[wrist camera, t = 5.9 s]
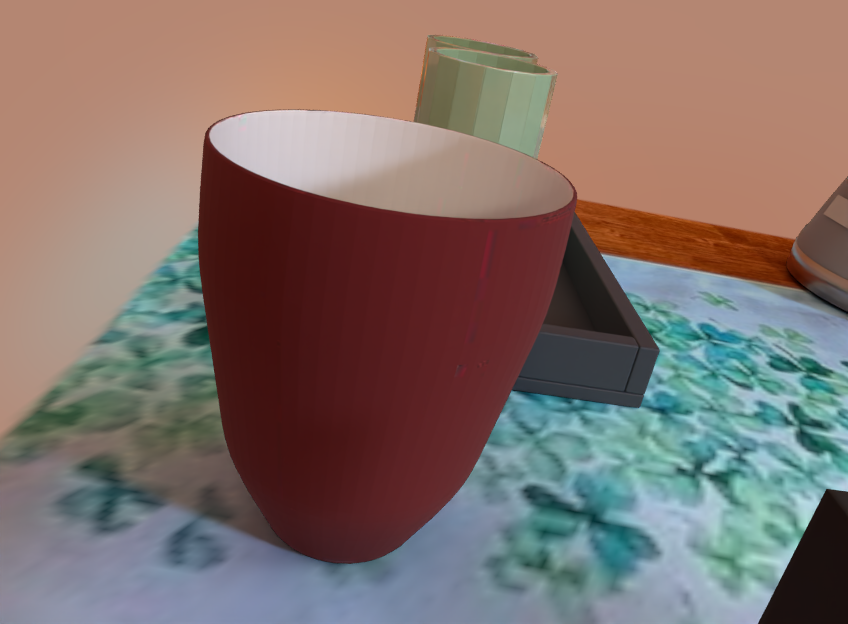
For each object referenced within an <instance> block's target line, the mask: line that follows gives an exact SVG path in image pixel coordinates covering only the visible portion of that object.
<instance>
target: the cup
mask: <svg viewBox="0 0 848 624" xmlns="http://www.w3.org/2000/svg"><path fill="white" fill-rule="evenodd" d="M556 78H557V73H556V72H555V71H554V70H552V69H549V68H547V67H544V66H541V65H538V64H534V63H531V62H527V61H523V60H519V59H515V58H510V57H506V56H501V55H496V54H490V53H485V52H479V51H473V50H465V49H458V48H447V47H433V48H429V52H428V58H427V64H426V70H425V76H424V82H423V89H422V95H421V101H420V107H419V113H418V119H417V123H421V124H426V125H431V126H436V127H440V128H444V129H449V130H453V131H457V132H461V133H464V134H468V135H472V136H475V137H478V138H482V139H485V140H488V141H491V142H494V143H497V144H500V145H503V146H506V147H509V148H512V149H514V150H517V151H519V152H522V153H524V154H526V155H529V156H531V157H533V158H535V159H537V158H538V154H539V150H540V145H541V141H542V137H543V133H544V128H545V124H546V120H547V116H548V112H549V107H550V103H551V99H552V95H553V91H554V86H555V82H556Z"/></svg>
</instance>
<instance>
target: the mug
mask: <svg viewBox="0 0 848 624" xmlns="http://www.w3.org/2000/svg"><path fill="white" fill-rule="evenodd" d="M576 202H577V192H576V190H575V188H574V186H573V185H572V183H571V182H570V181H569V180H568V179H567V178H566V177H565V176H564V175H562V174H561V173H560V172H558V171H557V170H555V169H554V168H552V167H551V166H549V165H547V164H545V163H543V162H541V161H539V160H537V159H535V158H533V157H531V156H529V155H526V154H524V153H522V152H519V151H517V150H514V149H512V148H509V147H506V146H503V145H500V144H497V143H494V142H491V141H488V140H485V139H482V138H478V137H475V136H472V135H468V134H464V133H461V132H457V131H453V130H449V129H444V128H440V127H436V126H431V125H426V124H421V123H416V122H411V121H406V120H400V119H394V118H388V117H381V116H374V115H366V114H358V113H357V114H356V113H348V112H337V111H323V110H266V111H255V112H248V113H242V114H238V115H233V116H230V117H227V118H224V119H221V120H219V121H217V122H216V123H214V124H213V125H212V126H210V128H208V130H207V131H206V133H205V139H204V146H203V160H202V173H201V186H200V204H199V225H198V250H199V266H200V276H201V284H202V291H203V299H204V305H205V312H206V319H207V326H208V332H209V339H210V346H211V352H212V359H213V366H214V373H215V379H216V386H217V393H218V399H219V406H220V413H221V420H222V426H223V431H224V436H225V440H226V443H227V446H228V449H229V453H230V456H231V458H232V460H233V463H234V465H235V467H236V469H237V471H238V473H239V475H240V477H241V479H242V481H243V483H244V484H245V486H246V488H247V490H248V492H249V493H250V495H251V496H252V498H253V499H254V501H255V503H256V504H257V506H258V507H259V509H260V510H261V512H262V514H263V515H264V517H265V518H266V520H267V521H268V523H269V525H270V526H271V528H272V529H273V531H274V532H275V533H276V534H277V535H278V536H279V537H280V538H281V540H283V541H284V542H285V543H286V544H288V545H289V546H290V547H291V548H293V549H295V550H296V551H298V552H300V553H302V554H304V555H306V556H309V557H312V558H314V559H318V560H321V561H326V562H332V563H348V564H351V563H360V562H367V561H370V560H374V559H377V558H380V557H382V556H385V555H387V554H388V553H390V552H392V551H394V550H395V549H397V548H398V547H399V546H401V545H402V544H403V543H404V542H405V541H407V540H408V539H409V538H410V537H411V536H412V535H413V534H415V533H416V532H417V531H418V530H419V529H420V528H421V527H423V526H424V525H425V524H426V523H427V522H428V521H429V520H430V519H432V518H433V517H434V516H435V515H436V514H437V513H438V512H439V511H440V510H441V509H442V508H443V507H444V506H445V505H446V504H447V503H448V502H449V501H450V500H451V499H452V498H453V496H454V495H455V494H456V493H457V492H458V491H459V489H460V488H461V487H462V485H463V484H464V483H465V481H466V480H467V478H468V477H469V475H470V473H471V472H472V470H473V468H474V466H475V464H476V462H477V461H478V459H479V457H480V455H481V453H482V451H483V448H484V446H485V444H486V442H487V440H488V438H489V436H490V434H491V432H492V430H493V428H494V426H495V424H496V421H497V419H498V417H499V415H500V413H501V411H502V409H503V407H504V405H505V403H506V401H507V399H508V396H509V394H510V392H511V390H512V388H513V386H514V384H515V382H516V380H517V378H518V376H519V374H520V371H521V369H522V367H523V365H524V363H525V361H526V359H527V357H528V355H529V353H530V351H531V349H532V346H533V344H534V342H535V340H536V338H537V336H538V333H539V331H540V329H541V327H542V324H543V322H544V319H545V317H546V314H547V312H548V309H549V306H550V303H551V300H552V297H553V294H554V290H555V287H556V284H557V280H558V276H559V272H560V268H561V265H562V261H563V257H564V253H565V250H566V245H567V241H568V237H569V233H570V228H571V224H572V220H573V216H574V211H575V207H576Z"/></svg>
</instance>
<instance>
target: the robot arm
mask: <svg viewBox="0 0 848 624" xmlns="http://www.w3.org/2000/svg"><path fill="white" fill-rule="evenodd" d="M786 266H787V268H788V270H789V272H790V273H791V274H792V276H793V277H794V278H795V279H796V280H797V281H798V282H800V283H801V284H802V285H803V286H805V287H806V288H807V289H809V290H810V291H812V292H813V293H815V294H816V295H818V296H819V297H821V298H823V299H825V300H826V301H828V302H830V303H832V304H833V305H835V306H837V307H839V308H841V309H843V310H845V311H847V312H848V177H847V178H846V179H845V180H844V181H843V183H842V184H841V185H840V186H839V187H838V188H837V190H836V191H835V192H834V193H833V194H832V195H831V197H830V198H829V199H828V200H827V201H826V203H825V204H824V205H823V206H822V207H821V209H820V210H819V211H818V212H817V213H816V215H815V216H814V217H813V219H812V220H811V221H810V222H809V223H808V224H807V225H806V226H805V227H804V228H803V229H802V231H801V232H800V234H799V236H798V237H796V240H795V242H794V245H793V247H792V249H791V252H790V254H789V257H788V259H787V262H786ZM758 624H848V492H846V491H838V490H831V489H826V491H825V493H824V495H823V497H822V499H821V501H820V503H819V505H818V507H817V509H816V511H815V513H814V515H813V517H812V519H811V521H810V523H809V525H808V526H807V528H806V530H805V532H804V534H803V536H802V538H801V540H800V542H799V544H798V546H797V548H796V550H795V552H794V554H793V556H792V558H791V560H790V562H789V564H788V566H787V568H786V570H785V572H784V574H783V576H782V578H781V580H780V582H779V584H778V585H777V587H776V589H775V591H774V593H773V595H772V597H771V599H770V601H769V603H768V605H767V607H766V609H765V611H764V613H763V615H762V617H761V619H760V621H759V623H758Z"/></svg>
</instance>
